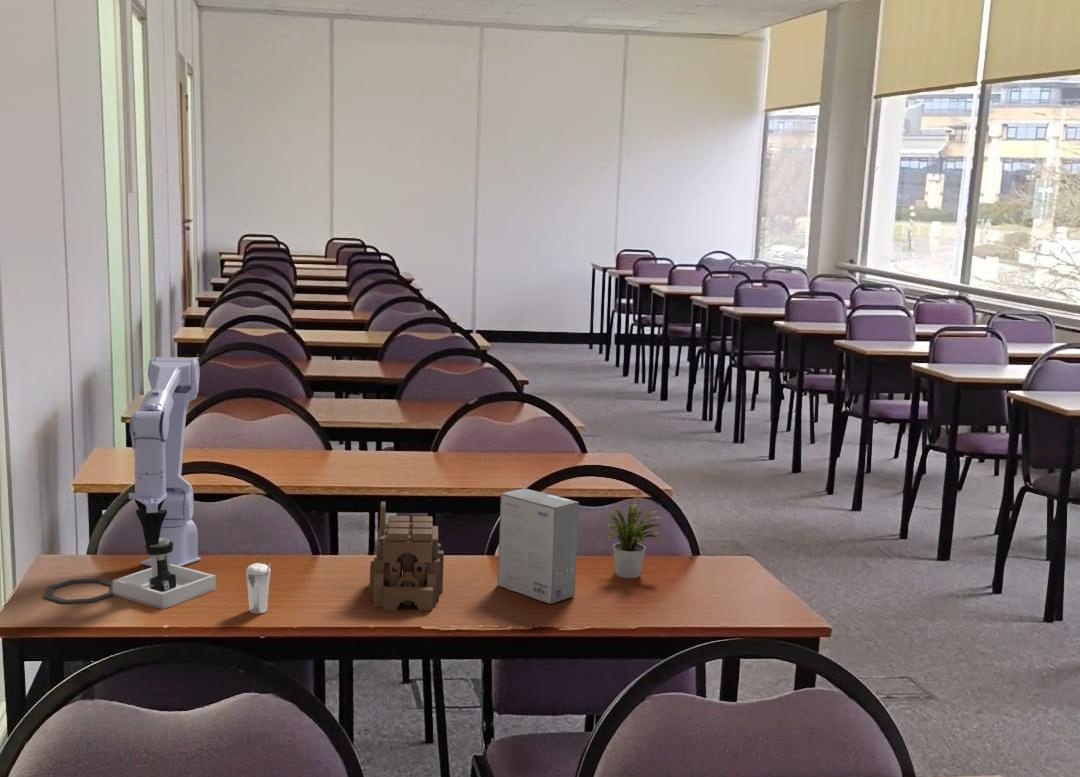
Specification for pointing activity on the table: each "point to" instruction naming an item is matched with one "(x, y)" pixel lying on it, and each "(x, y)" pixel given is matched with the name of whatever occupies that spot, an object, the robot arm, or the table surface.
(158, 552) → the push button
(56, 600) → the seat ring
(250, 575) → the milkshake
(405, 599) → the wooden puzzle
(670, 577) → the table surface
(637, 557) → the house plant
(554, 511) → the hard drive box
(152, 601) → the tray
